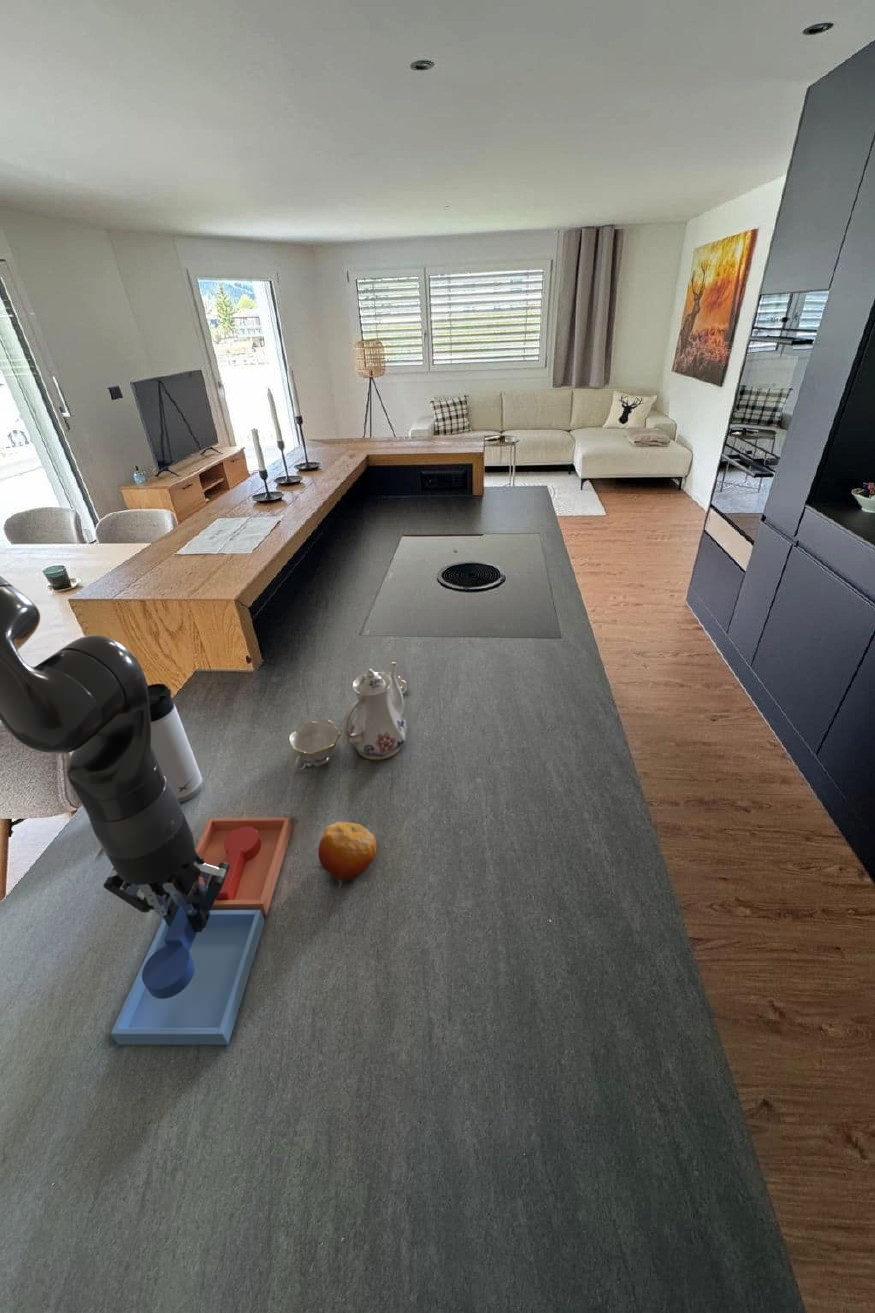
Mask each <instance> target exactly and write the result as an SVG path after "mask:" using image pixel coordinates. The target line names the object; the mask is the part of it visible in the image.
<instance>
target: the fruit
mask: <svg viewBox="0 0 875 1313" xmlns="http://www.w3.org/2000/svg"><path fill="white" fill-rule="evenodd" d="M376 855H377V840H376V836H375V834H374V833H373V832H371V831H370V830H368V829H367V828H366V827H364V826H363V825H362V824H360V823H355V822H352V821H351V822H350V821H336V822H334V823H333V824H329V825H327V826H326V827H325V830H324V831H323V833H322V836H321V838H320V840H319V844H318V860H319V863H320V865H321V867H322V869H323V870H324V871H325V872H327V873H328V874H330V875H331V876H332V877H333V878H334V879H335V880H336V882H338V889H339V890H340V889H341V887H342V884H343V882H344V881H345V882H346V881H348V882H349V881H351V880H353V879H355V878H357V877H359V876H360V875H362V874H363V873H364V872H365V871H366V869H367V868H368V867H369V866H370V865H371V863H372V862H373V861H374V859H375V857H376Z"/></svg>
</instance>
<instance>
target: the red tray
mask: <svg viewBox="0 0 875 1313" xmlns="http://www.w3.org/2000/svg"><path fill="white" fill-rule="evenodd" d="M241 827H252V828H254V829H255V830H256V831H257V832H258V835H259V838H260V841H261V849H260V851H259V853H258V854H257V855H256V856H255V857H254V858H252V859H251V860H249V861H246V864H245V868H244V871H243V874H242V877H241V880H240V884H239V887H238V890H237V893H236V897H235V900H215V902H214V904H213V906H212V908H211V910H261V912H262V915H263V916H268V912H269V909H270V905H271V902H272V898H273V895H274V893H275V892H274V891H275V888H276V885H277V882H278V879H279V875H280V871H281V868H282V865H283V863H284V862H283V861H284V858H285V854H286V851H287V848H288V844H289V841H290V838H291V835H292V831H293V826H292V821H291V818H290V817H289V816H287V817H286V816H285V817H283V816H282V817H281V816H279V817H214V818H212V817H211V818H209V819H208V821H207V823H206V825H205V828H204V829H203V831H202V834H201V836H200V838H199V840H198V843H197V845H196V847H195V851H196V852H197V853H198V854H199V855H200V856H202V857H203V859H204V862H205V864H207V865H210V866H213V867H216V868H217V867H218V865H219V863H222V862H225V859H226V856H227V853H226V850H225V848H224V842H225V839H226V837H227V836H228V835H229V834H230V833H231V832H232V831H234V830H236V829H238V828H241ZM203 881H204V879H203V878H202V877H201V876H199V884H200V883H203V884H204V885H206V884H205V883H204V882H203ZM206 890H207V889H206Z"/></svg>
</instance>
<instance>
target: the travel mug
mask: <svg viewBox="0 0 875 1313" xmlns="http://www.w3.org/2000/svg"><path fill="white" fill-rule="evenodd" d="M147 687H148V694H149V706H150V719H151V733H152V737H151V742H152V749H153V751H154V753H155V755H156V757H157V760H158V762H159V764H160V767H161V769H162V771H163V774H164V776H165V778H166V780H167V781H168V783H169V784H170V786H171V787H172V789H173V790H174V792H175V795H176V797H177V799H178V802H179V803H182V802H186V801H189V800H191V799H193V798H194V797H195V796H197V795H198V794H199V793H200V792H201V791H202V790H203V786H204V780H203V776H202V774H201V771H200V769H199V766H198V764H197V761H196V758H195V755H194V752H193V750H192V747H191V744H190V741H189V739H188V736H187V733H186V731H185V728H184V725H183V723H182V720H181V717H180V715H179V712H178V709H177V707H176V704H175V702H174V700H173V696H172V690H171V689H170V688H169V686H168V685H166V684H164V683H152V684H149V685H148V684H147Z"/></svg>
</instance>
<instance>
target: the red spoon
mask: <svg viewBox="0 0 875 1313" xmlns="http://www.w3.org/2000/svg"><path fill="white" fill-rule="evenodd" d="M224 848H225V850H226V853H227V856H226V859H225V862H224V863H227V864H229V866H230V868H229V870H228V873H227V876H226V878H225V881H224V883H223V886H222V888H221V890H220V892H219V894H218V896H217V898H216V900H235V897H236V893H237V890H238V887H239V884H240V880H241V877H242V874H243V871H244V868H245V864H246V861H249V860H251V859H252V858H254V857H255V856H256V855H257V854H258V853H259V851H260V849H261V841H260V838H259V835H258V832H257V831H256V830H255V829H254V828H252V827H241V828H238V829H236V830H234V831H232V832H231V833H230V834H229V835H228V836H227V837H226V839H225V842H224Z"/></svg>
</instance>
